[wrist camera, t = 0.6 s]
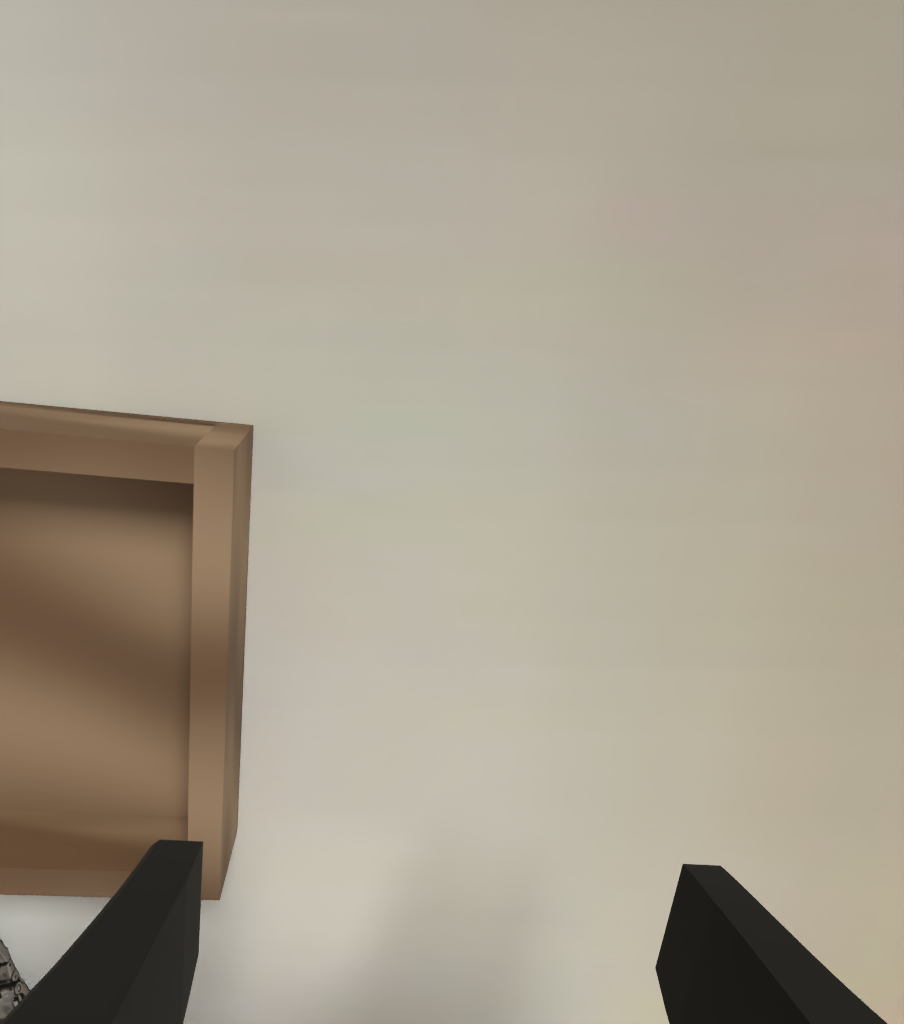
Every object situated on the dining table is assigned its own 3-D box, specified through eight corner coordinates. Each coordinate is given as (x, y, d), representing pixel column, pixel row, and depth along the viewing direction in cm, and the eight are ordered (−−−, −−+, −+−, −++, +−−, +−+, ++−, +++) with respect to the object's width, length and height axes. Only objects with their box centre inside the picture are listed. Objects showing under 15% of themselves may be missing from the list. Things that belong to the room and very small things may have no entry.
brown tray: (237, 830, 22) (219, 900, 20) (-132, 817, 21) (-197, 889, 18) (253, 425, 18) (234, 449, 16) (-188, 383, 17) (-278, 403, 15)
